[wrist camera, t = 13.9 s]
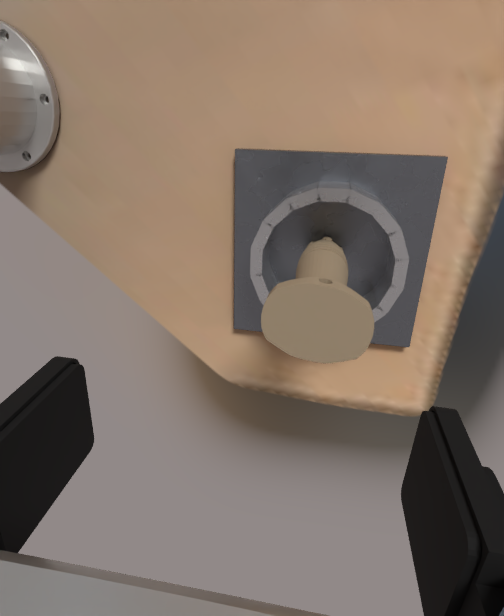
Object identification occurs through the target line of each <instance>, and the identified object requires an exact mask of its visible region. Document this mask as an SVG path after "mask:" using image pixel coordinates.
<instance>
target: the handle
mask: <svg viewBox="0 0 504 616" xmlns="http://www.w3.org/2000/svg"><path fill="white" fill-rule="evenodd" d="M347 281H348V264H347V260H346V257H345V254H344V252H343V249H342V248H341V247H339V246H338V245H337V244H336V243H334V242H333V241H332V238H330V237H323V239H321V240H318V241H314V242H313V241H312V242H310V243H309V244H308V246H307V248H306V249H305V250H304V252H303V253H302V255H301V257H300V259H299V262H298V265H297V269H296V279H293V280H288V281H285V282H281V283H278V284H277V285H276V286H275V287H274V288H273V289H272V290H271V292H270V293H269V295H268V297H267V299H266V301H265V303H264V306H263V310H262V314H261V327H262V331H263V334H264V336H265V338H266V340H268V341H269V342H270V343H272V344H273V345H275V346H276V347H277V348H279V349H280V350H282V351H283V352H285V353H287V354H289V355H290V356H293V357H296V358H299V359H303V360H308V361H312V362H317V363H336V362H343V361H349V360H354V359H357V358H358V357H359V356H361V355H362V354H363V353H364V352H365V351H366V349H367V348H368V346H369V344H370V342H371V339H372V337H373V332H374V317H373V313H372V309H371V306H370V304H369V302H368V301H367V300H366V299H365V298H363V297H362V296H361V295H359V294H358V293H357V292H355V291H354V290H352V289H351V288H349V287H347Z"/></svg>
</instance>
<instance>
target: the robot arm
mask: <svg viewBox="0 0 504 616" xmlns="http://www.w3.org/2000/svg"><path fill="white" fill-rule="evenodd" d="M48 99H49V100H48ZM59 115H60V109H59V100H58V94H57V90H56V87H55V83H54V80H53V77H52V75H51V73H50V70H49V68H48V66H47V64H46V62H45V61H44V59H43V58H42V56H41V54H40V53H39V51H38V50H37V49H36V48H35V46H34V45H33V44H32V43H31V42H30V40H29V39H27V38H26V37H25V36H24V35H23V34H22V33H21V32H19V31H18V30H17V29H16V28H14V27H12V26H11V25H9V24H7V23H6V22H3V21H1V20H0V171H1V172H14V171H20V170H25V169H28V168H30V167H32V166H35V165H36V164H38V163H39V162H40V161H41V160H42V159H44V158H45V156H46V155H47V154H48V152H49V151H50V150H51V148H52V146H53V144H54V141H55V139H56V136H57V132H58V127H59ZM93 443H94V433H93V427H92V420H91V413H90V406H89V399H88V392H87V385H86V378H85V371H84V367H83V366H82V365H80V364H79V362H78V360H76V359H72V358H66V357H54V358H52V359H51V360H50V361H49V362H48V363H47V364H46V365H45V366H43V367H42V368H41V369H40V370H39V371H38V372H36V373H35V374H34V375H33V376H32V377H31V378H30V379H28V380H27V381H26V382H25V383H24V384H23V385H22V386H20V387H19V388H18V389H17V390H16V391H15V392H14V393H12V394H11V395H10V396H9V397H8V398H7V399H6V400H4V401H3V402H2V403H1V404H0V616H328V615H323V614H318V613H313V612H308V611H304V610H299V609H294V608H289V607H284V606H280V605H275V604H270V603H265V602H260V601H255V600H250V599H245V598H241V597H236V596H231V595H226V594H221V593H216V592H211V591H206V590H201V589H196V588H191V587H186V586H181V585H176V584H171V583H167V582H161V581H156V580H151V579H146V578H141V577H136V576H131V575H126V574H121V573H116V572H111V571H106V570H101V569H96V568H91V567H86V566H80V565H75V564H70V563H65V562H60V561H55V560H49V559H44V558H39V557H34V556H29V555H24V554H19V553H18V552H19V550H20V549H21V548H22V546H23V545H24V543H25V542H26V541H27V539H28V538H29V536H30V535H31V533H32V532H33V531H34V529H35V528H36V527H37V525H38V523H39V522H40V521H41V520H42V518H43V517H44V515H45V514H46V513H47V511H48V510H49V508H50V507H51V506H52V504H53V503H54V501H55V500H56V498H57V497H58V496H59V494H60V493H61V491H62V490H63V489H64V487H65V486H66V484H67V483H68V482H69V480H70V479H71V477H72V476H73V475H74V473H75V472H76V470H77V469H78V468H79V466H80V465H81V463H82V462H83V461H84V459H85V458H86V456H87V455H88V454H89V452H90V451H91V449H92V447H93ZM401 500H402V505H403V511H404V516H405V521H406V526H407V531H408V536H409V541H410V546H411V551H412V556H413V562H414V566H415V572H416V577H417V581H418V587H419V592H420V596H421V602H422V607H423V612H424V616H504V493H503V491H502V489H501V487H500V484H499V482H498V480H497V478H496V476H495V474H494V473H493V471H492V470H491V469H490V468H488V467H483V466H482V465H481V463H480V461H479V458H478V456H477V454H476V452H475V450H474V447H473V445H472V443H471V441H470V438H469V436H468V434H467V432H466V429H465V427H464V425H463V423H462V421H461V418H460V416H459V414H458V412H457V410H455V409H449V408H442V407H434V406H432V407H431V408H430V410H429V411H423V412H422V414H421V417H420V421H419V424H418V428H417V432H416V436H415V439H414V443H413V447H412V451H411V454H410V458H409V462H408V466H407V469H406V473H405V477H404V480H403V484H402V490H401Z"/></svg>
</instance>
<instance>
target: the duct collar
mask: <svg viewBox="0 0 504 616" xmlns="http://www.w3.org/2000/svg"><path fill="white" fill-rule="evenodd" d="M447 159H448V157H446V156H429V155H401V154H374V153H346V152H319V151H291V150H264V149H235V254H234V329H241V330H251V331H260V332H263V331H262V327H261V314H262V310H263V306H264V303H265V301H266V299H267V297H268V295H269V293H270V292H271V290H272V289H273V288H274V287H275V286H276V285H277V284H278V283H281V282H285V281H288V280H293V279H296V269H297V265H298V262H299V259H300V257H301V255H302V253H303V252H304V250H305V249H306V248H307V246H308V244H309V243H310V242H312V241H313V242H314V241H318V240H321V239H323V237H330V238H332V241H333V242H334V243H336V244H337V245H338V246H339V247H341V248H342V249H343V252H344V254H345V257H346V260H347V264H348V281H347V287H349V288H351V289H352V290H354V291H355V292H357V293H358V294H359V295H361V296H362V297H363V298H365V299H366V300H367V301H368V302H369V304H370V306H371V309H372V313H373V317H374V332H373V337H372V339H371V342H370V343H373V344H383V345H392V346H402V347H409V346H410V341H411V336H412V331H413V326H414V321H415V316H416V312H417V307H418V302H419V297H420V292H421V287H422V282H423V277H424V272H425V267H426V262H427V257H428V252H429V247H430V242H431V238H432V233H433V228H434V223H435V218H436V213H437V208H438V203H439V198H440V193H441V188H442V183H443V178H444V173H445V168H446V164H447Z"/></svg>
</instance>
